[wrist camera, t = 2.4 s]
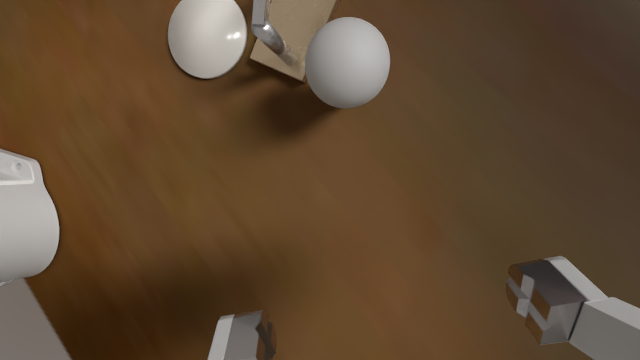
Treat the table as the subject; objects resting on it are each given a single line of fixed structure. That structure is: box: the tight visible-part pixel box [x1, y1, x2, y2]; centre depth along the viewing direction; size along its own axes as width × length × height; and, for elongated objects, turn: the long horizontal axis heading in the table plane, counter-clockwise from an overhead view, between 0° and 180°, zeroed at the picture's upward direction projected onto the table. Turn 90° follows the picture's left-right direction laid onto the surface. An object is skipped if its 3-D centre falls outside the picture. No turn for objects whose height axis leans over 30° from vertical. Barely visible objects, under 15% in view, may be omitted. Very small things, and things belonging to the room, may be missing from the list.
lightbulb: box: [305, 17, 390, 109], centre depth 24 cm, size 6×6×11 cm
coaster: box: [168, 0, 248, 79], centre depth 32 cm, size 9×9×1 cm
